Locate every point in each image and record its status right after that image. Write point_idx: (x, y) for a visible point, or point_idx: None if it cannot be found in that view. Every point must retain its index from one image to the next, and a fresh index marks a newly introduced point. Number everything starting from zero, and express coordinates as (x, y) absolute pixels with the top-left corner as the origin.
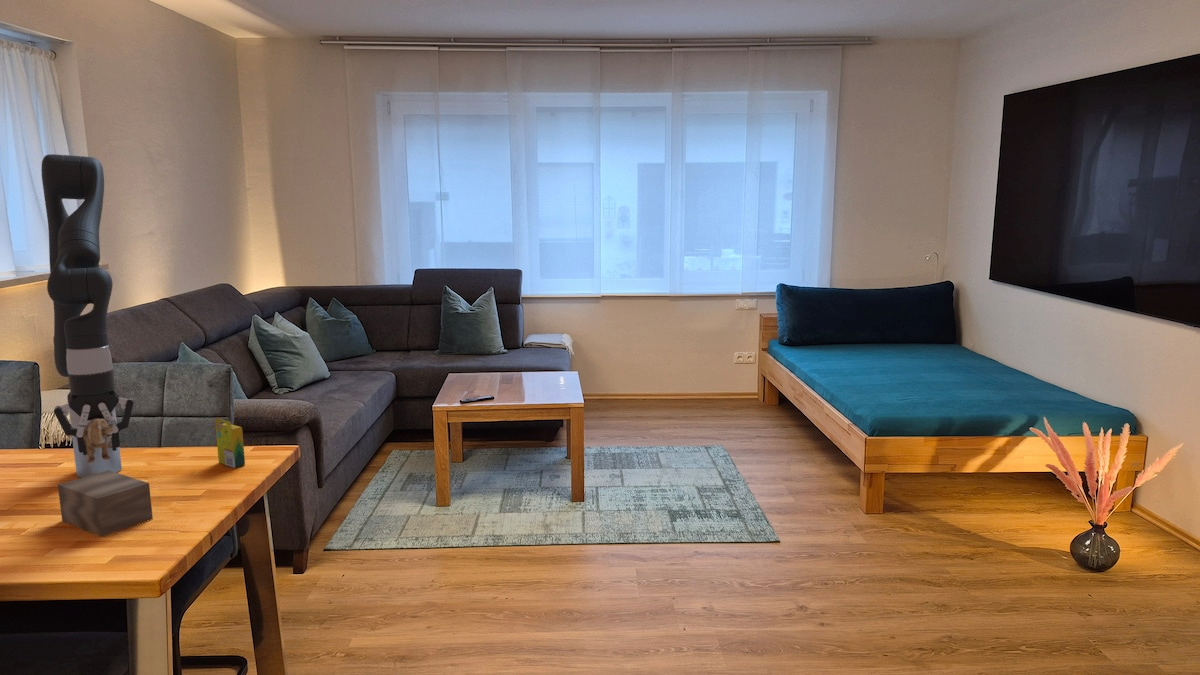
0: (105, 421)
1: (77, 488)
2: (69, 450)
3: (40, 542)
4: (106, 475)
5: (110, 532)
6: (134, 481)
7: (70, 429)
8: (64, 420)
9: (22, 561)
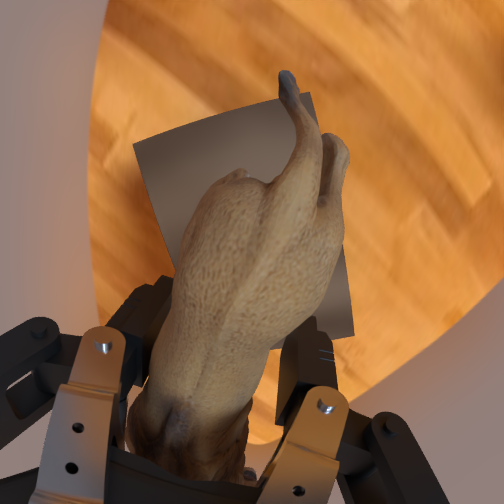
0: (311, 303)
1: (176, 232)
2: None
3: (131, 240)
4: (285, 153)
5: None
6: (333, 294)
7: (53, 405)
8: (2, 436)
9: (110, 304)
